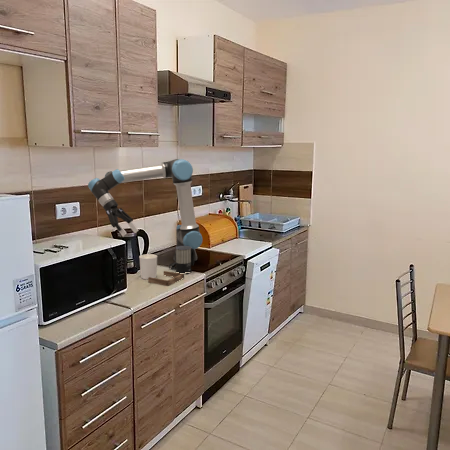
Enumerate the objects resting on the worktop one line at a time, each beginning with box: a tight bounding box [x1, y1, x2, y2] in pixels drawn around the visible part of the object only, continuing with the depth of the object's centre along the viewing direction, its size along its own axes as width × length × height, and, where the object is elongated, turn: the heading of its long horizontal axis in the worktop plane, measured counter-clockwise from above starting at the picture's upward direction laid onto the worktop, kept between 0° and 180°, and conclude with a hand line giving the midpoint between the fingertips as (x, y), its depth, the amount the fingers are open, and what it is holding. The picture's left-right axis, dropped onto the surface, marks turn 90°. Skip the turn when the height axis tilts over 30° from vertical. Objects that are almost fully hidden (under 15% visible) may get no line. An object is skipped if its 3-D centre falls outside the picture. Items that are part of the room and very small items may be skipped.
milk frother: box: [168, 246, 196, 273], centre depth 251 cm, size 14×16×15 cm
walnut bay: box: [147, 270, 185, 287], centre depth 233 cm, size 15×13×2 cm
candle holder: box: [138, 253, 158, 280], centre depth 237 cm, size 10×10×12 cm
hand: (130, 233), depth 238 cm, fingers open, 13 cm apart
